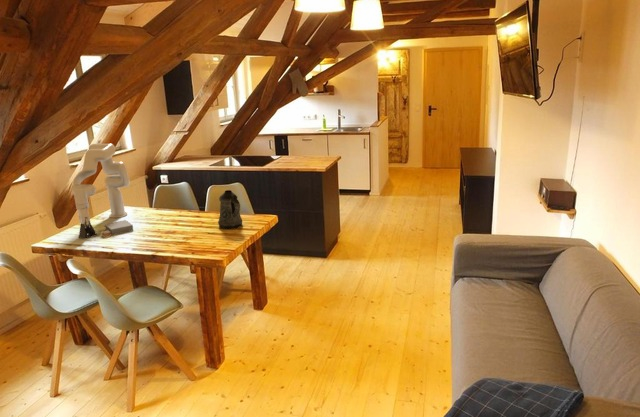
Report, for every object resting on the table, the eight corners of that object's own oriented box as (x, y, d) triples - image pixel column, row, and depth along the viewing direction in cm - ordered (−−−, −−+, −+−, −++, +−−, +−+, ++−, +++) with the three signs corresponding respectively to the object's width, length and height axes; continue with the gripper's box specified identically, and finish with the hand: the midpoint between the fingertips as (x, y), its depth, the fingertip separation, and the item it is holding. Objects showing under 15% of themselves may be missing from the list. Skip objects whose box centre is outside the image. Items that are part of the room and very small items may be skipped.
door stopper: (84, 239, 306) (81, 221, 303) (78, 237, 309) (75, 220, 305) (96, 234, 313) (93, 217, 310) (90, 233, 316) (87, 216, 313)
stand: (105, 229, 324) (104, 224, 323) (126, 225, 332) (125, 219, 331) (112, 235, 312) (111, 229, 311) (133, 230, 320) (132, 224, 319)
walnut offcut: (102, 235, 311) (101, 231, 311) (108, 234, 314) (108, 230, 313) (104, 237, 308) (104, 233, 307) (111, 236, 310) (110, 231, 309)
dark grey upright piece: (226, 221, 334) (223, 187, 327) (250, 223, 327) (248, 188, 321) (213, 228, 319) (210, 193, 312) (239, 230, 312) (236, 194, 306)
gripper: (73, 204, 310) (78, 230, 315) (79, 209, 297) (84, 236, 301) (85, 202, 314) (90, 227, 319) (91, 207, 301) (96, 233, 306)
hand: (87, 231), depth 310 cm, fingers closed on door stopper, 6 cm apart
